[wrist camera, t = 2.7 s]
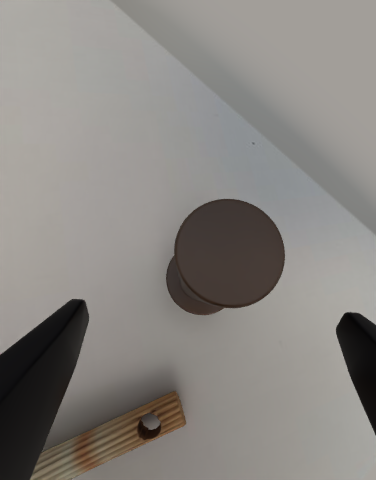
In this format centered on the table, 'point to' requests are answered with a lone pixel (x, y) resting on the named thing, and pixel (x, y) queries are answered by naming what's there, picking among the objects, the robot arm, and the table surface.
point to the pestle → (224, 257)
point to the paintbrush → (109, 440)
